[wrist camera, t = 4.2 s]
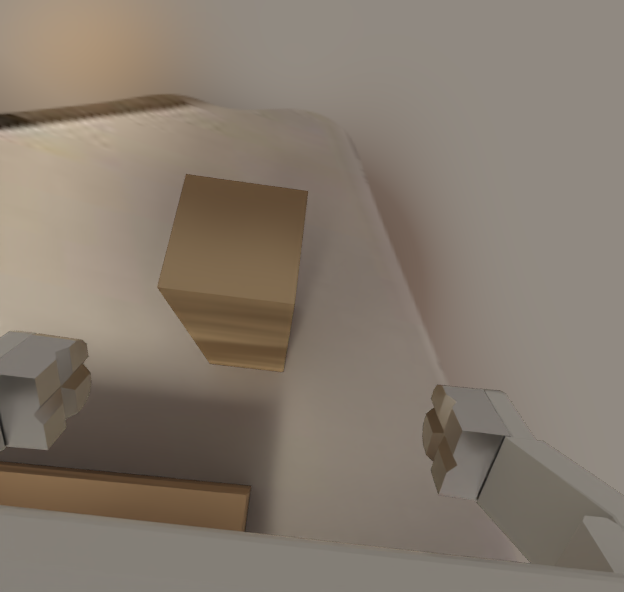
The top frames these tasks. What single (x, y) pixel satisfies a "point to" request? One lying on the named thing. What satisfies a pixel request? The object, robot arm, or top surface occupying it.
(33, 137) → the top surface
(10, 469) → the socket block
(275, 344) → the pin
